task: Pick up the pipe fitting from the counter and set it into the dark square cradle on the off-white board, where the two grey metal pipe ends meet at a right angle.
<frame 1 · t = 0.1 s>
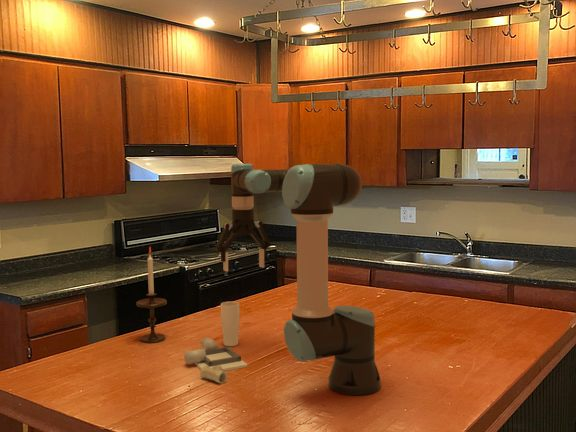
hand: (244, 269, 211), 28 cm above the kitchen island, tool pointing down, fingers open, 13 cm apart
coupling board: (215, 361, 199), on the kitchen island
pipe fitting: (217, 380, 183), on the kitchen island
drinking glass: (231, 345, 216), on the kitchen island
candlestick: (153, 340, 224), on the kitchen island
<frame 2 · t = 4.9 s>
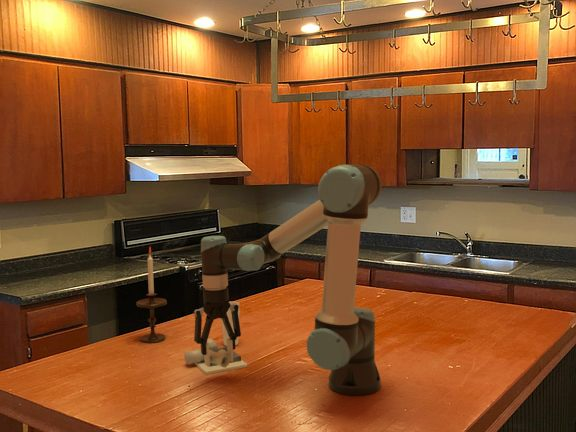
hand: (219, 362, 183), 5 cm above the kitchen island, tool pointing down, fingers closed on pipe fitting, 7 cm apart
pipe fitting: (221, 364, 183), point 5 cm above the kitchen island, touching gripper
everything else where it was.
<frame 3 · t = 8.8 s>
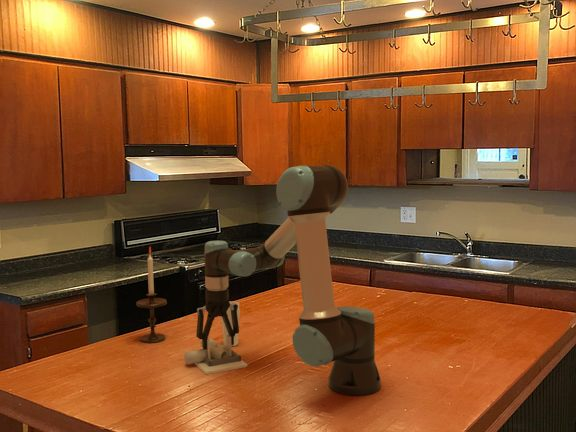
hand: (218, 356, 199), 1 cm above the kitchen island, tool pointing down, fingers closed on pipe fitting, 7 cm apart
pipe fitting: (220, 357, 199), point 1 cm above the kitchen island, touching gripper
everything else where it was.
when the fingers open (1 cm above the kitchen island, at t = 10.3 s): pipe fitting stays where it is, resting on coupling board.
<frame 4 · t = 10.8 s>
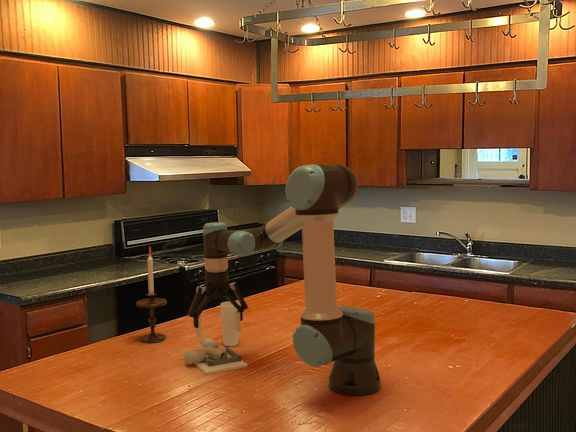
hand: (219, 334, 198), 9 cm above the kitchen island, tool pointing down, fingers open, 13 cm apart
pipe fitting: (220, 358, 199), point 1 cm above the kitchen island, touching coupling board
everything else where it was.
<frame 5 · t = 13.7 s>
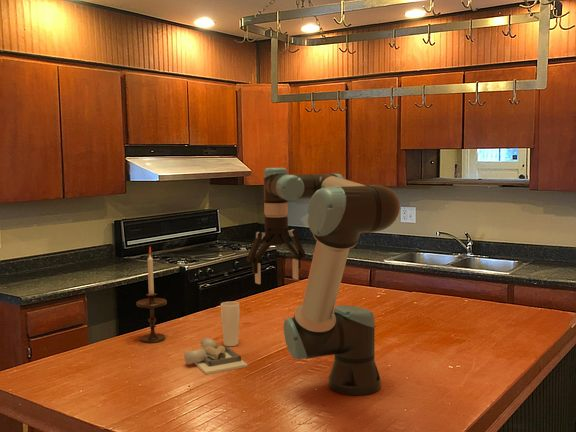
hand: (277, 281, 196), 27 cm above the kitchen island, tool pointing down, fingers open, 13 cm apart
nothing on the kitchen island moved.
at the end: pipe fitting inside the target area (0.1 cm from its centre), point 0.6 cm above the kitchen island; the gripper is holding nothing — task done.
